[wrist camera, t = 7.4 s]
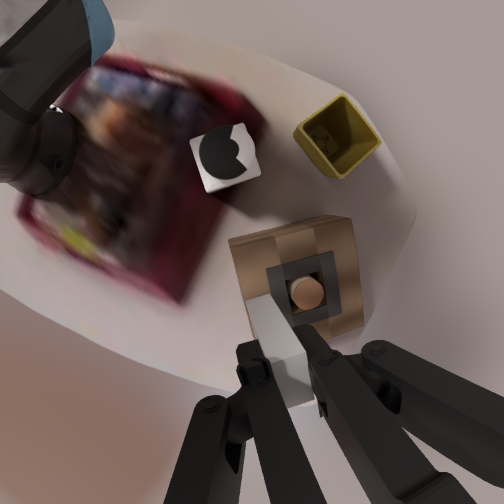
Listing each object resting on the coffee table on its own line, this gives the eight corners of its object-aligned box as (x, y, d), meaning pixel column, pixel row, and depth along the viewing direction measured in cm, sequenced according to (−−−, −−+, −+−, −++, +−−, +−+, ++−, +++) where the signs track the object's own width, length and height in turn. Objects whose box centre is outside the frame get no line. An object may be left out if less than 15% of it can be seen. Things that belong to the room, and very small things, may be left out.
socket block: (227, 239, 42) (231, 249, 34) (328, 214, 44) (352, 218, 35) (252, 334, 46) (260, 360, 37) (342, 306, 47) (365, 326, 39)
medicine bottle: (207, 194, 41) (205, 192, 29) (192, 149, 39) (184, 130, 27) (254, 178, 41) (270, 170, 29) (238, 134, 40) (248, 110, 28)
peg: (277, 269, 43) (291, 284, 35) (302, 262, 43) (320, 276, 35) (282, 293, 44) (296, 313, 36) (306, 286, 44) (325, 304, 36)
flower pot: (316, 183, 42) (341, 180, 34) (280, 140, 41) (296, 125, 32) (353, 151, 42) (383, 142, 34) (319, 109, 40) (343, 91, 32)
